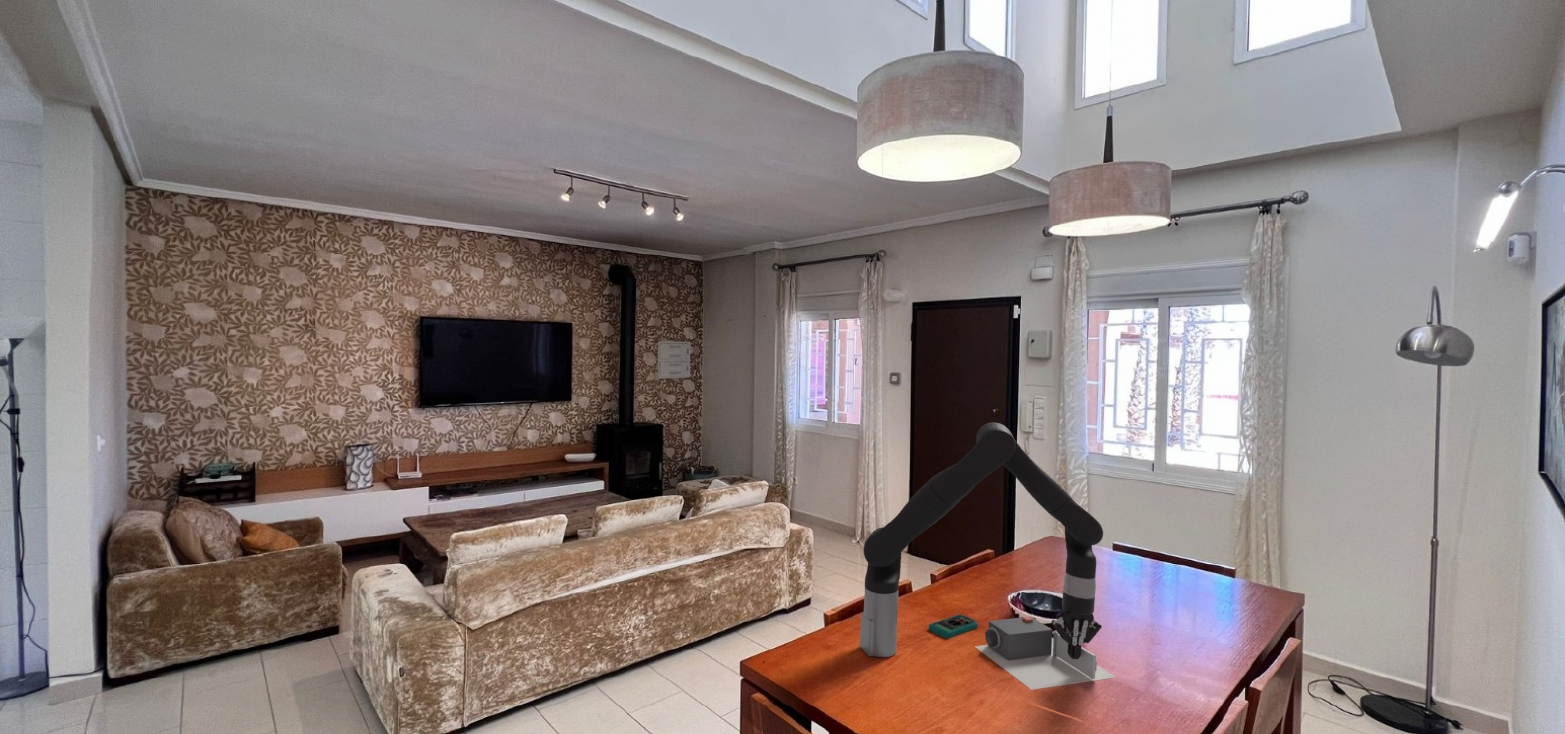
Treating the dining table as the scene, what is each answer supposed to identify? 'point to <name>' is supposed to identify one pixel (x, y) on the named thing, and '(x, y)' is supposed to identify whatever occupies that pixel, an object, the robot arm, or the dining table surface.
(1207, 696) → the dining table surface
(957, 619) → the digital multimeter
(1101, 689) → the dining table surface
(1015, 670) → the mat
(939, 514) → the robot arm
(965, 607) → the dining table surface
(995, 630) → the camera body
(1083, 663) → the side door
